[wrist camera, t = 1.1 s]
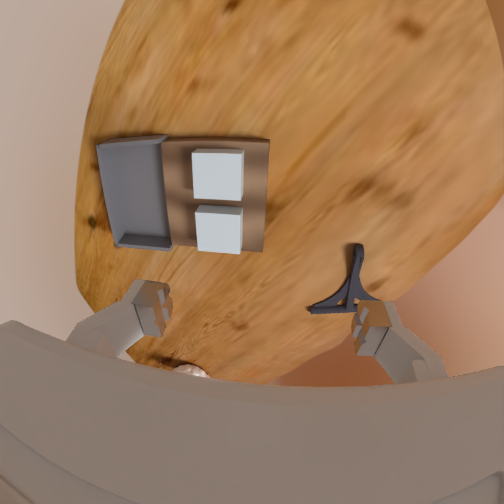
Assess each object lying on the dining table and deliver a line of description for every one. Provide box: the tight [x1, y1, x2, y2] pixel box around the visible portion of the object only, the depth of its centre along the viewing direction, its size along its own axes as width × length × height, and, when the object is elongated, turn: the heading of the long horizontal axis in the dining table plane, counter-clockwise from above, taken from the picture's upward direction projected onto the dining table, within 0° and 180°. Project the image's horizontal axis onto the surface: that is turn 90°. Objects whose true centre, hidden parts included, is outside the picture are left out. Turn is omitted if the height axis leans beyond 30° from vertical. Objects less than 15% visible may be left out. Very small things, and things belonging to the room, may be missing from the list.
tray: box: [96, 134, 174, 251], centre depth 38 cm, size 17×10×4 cm, turn 178°
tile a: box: [192, 149, 244, 201], centre depth 33 cm, size 6×6×2 cm
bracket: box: [311, 245, 381, 314], centre depth 44 cm, size 14×15×3 cm
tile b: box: [195, 205, 243, 254], centre depth 38 cm, size 6×6×2 cm
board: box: [161, 138, 270, 252], centre depth 37 cm, size 16×14×2 cm
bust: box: [172, 364, 211, 378], centre depth 62 cm, size 12×8×11 cm
